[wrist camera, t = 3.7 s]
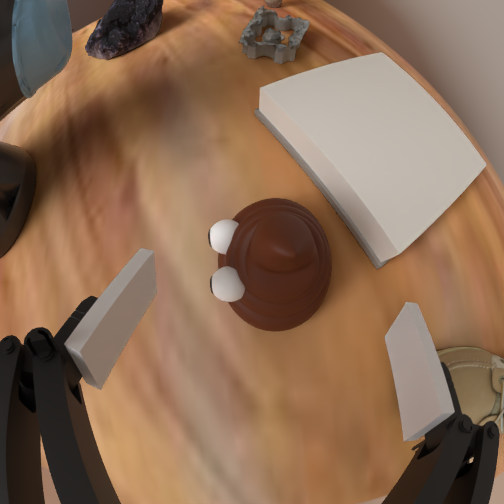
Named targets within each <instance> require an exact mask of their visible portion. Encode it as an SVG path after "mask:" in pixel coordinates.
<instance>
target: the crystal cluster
mask: <svg viewBox="0 0 504 504" xmlns="http://www.w3.org/2000/svg"><path fill="white" fill-rule="evenodd" d="M162 5H163V0H114V2H113V4H112V5H111V7H110V9H109V10H108V12H107V13H106V14H105V16H104V17H103V18H102V19H100V20H99V21H98V23H97V25H96V28H95V30H94V32H93V33H92V34H91V35H90V37H89V39H88V42H87V45H86V46H85V50H86V52H87V53H88V56H92V57H96V58H99V59H106V60H107V59H111V58H112V57H115V56H118V55H121V54H123V53H125V52H127V51H130V50H132V49H134V48H136V47H138V46H140V45H141V44H143V43H144V42H146V41H148V40H151V39H153V38H154V37H155V36H156V34H157V33H158V31H159V29H160V27H161V24H160V23H161V21H162Z"/></svg>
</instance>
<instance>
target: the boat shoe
mask: <svg viewBox="0 0 504 504" xmlns="http://www.w3.org/2000/svg"><path fill="white" fill-rule="evenodd" d="M437 354H438V357H439V360H440V362H444V363H445V365H446V366H447V368H448V369H449V371H450V374H451V377H452V381H453V384H454V388H455V390H456V393H457V397H458V400H459V404H460V408H461V411H462V414H466V415H468V416H469V417H470V418H471V420H472V422H473V424H476V425H480V426H482V425H484V424H485V423H486V422H488V421H494V422H495V423H496V424H497V426H498V428H499V434H503V433H504V358H501V357H499V356H498V355H494V354H491V353H489V352H487V351H485V350H483V349H479V348H474V347H452V348H448V349H444V350H440V351H437Z"/></svg>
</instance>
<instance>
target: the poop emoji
mask: <svg viewBox="0 0 504 504" xmlns="http://www.w3.org/2000/svg"><path fill="white" fill-rule="evenodd" d="M208 239H209V244H210V246H211V247H212V248H213V249H214V250H215V251H217V252H219V255H218V268H219V269H218V270H217V271H216V272H215V273H214V274H213V276H212V277H211V279H210V288H211V292H212V293H213V294H214V295H215V296H216V297H217V298H218V299H220V300H222V301H226V302H228V303H229V304H230V306H231V307H232V309H233V310H234V311H235V312H236V313H237V314H238V315H239V316H240V317H241V318H242V319H243V320H244V321H246V322H247V323H249V324H250V325H252V326H254V327H256V328H259V329H262V330H267V331H285V330H289V329H292V328H295V327H297V326H299V325H301V324H302V323H304V322H305V321H307V320H308V319H309V318H310V317H311V316H312V315H313V314H314V313H315V312H316V310H317V309H318V308H319V306H320V305H321V303H322V301H323V299H324V297H325V295H326V292H327V289H328V286H329V282H330V277H331V254H330V248H329V244H328V241H327V238H326V235H325V233H324V230H323V228H322V227H321V225H320V223H319V222H318V220H317V219H316V218H315V217H314V216H313V214H312V213H310V212H309V211H308V210H307V209H306V208H304V207H303V206H301V205H299V204H298V203H295V202H293V201H290V200H286V199H280V198H272V199H265V200H261V201H258V202H256V203H253V204H251V205H249V206H247V207H246V208H244V209H243V210H242V211H240V212H239V213H238V214H237V215H236V216H235V217H234V218H233V219H232V220H229V219H225V220H221V221H218V222H217V223H215V224H214V225H213V226H212V228H211V229H210V230H209V233H208Z"/></svg>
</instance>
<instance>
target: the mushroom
mask: <svg viewBox="0 0 504 504" xmlns="http://www.w3.org/2000/svg"><path fill="white" fill-rule="evenodd" d="M265 2H266V4H267V6H269V7H273V8H274V7H275V8H276V7H279V6H280V5H281V3H282V0H265Z"/></svg>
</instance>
